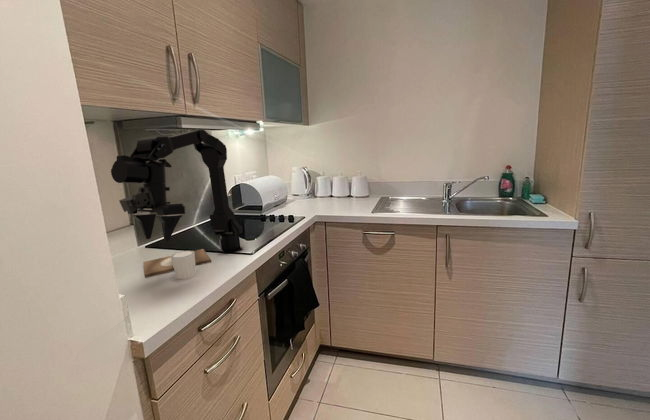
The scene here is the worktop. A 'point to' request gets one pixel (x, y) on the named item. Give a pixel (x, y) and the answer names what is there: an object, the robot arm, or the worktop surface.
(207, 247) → the worktop surface
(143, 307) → the worktop surface
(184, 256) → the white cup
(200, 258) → the serving board
